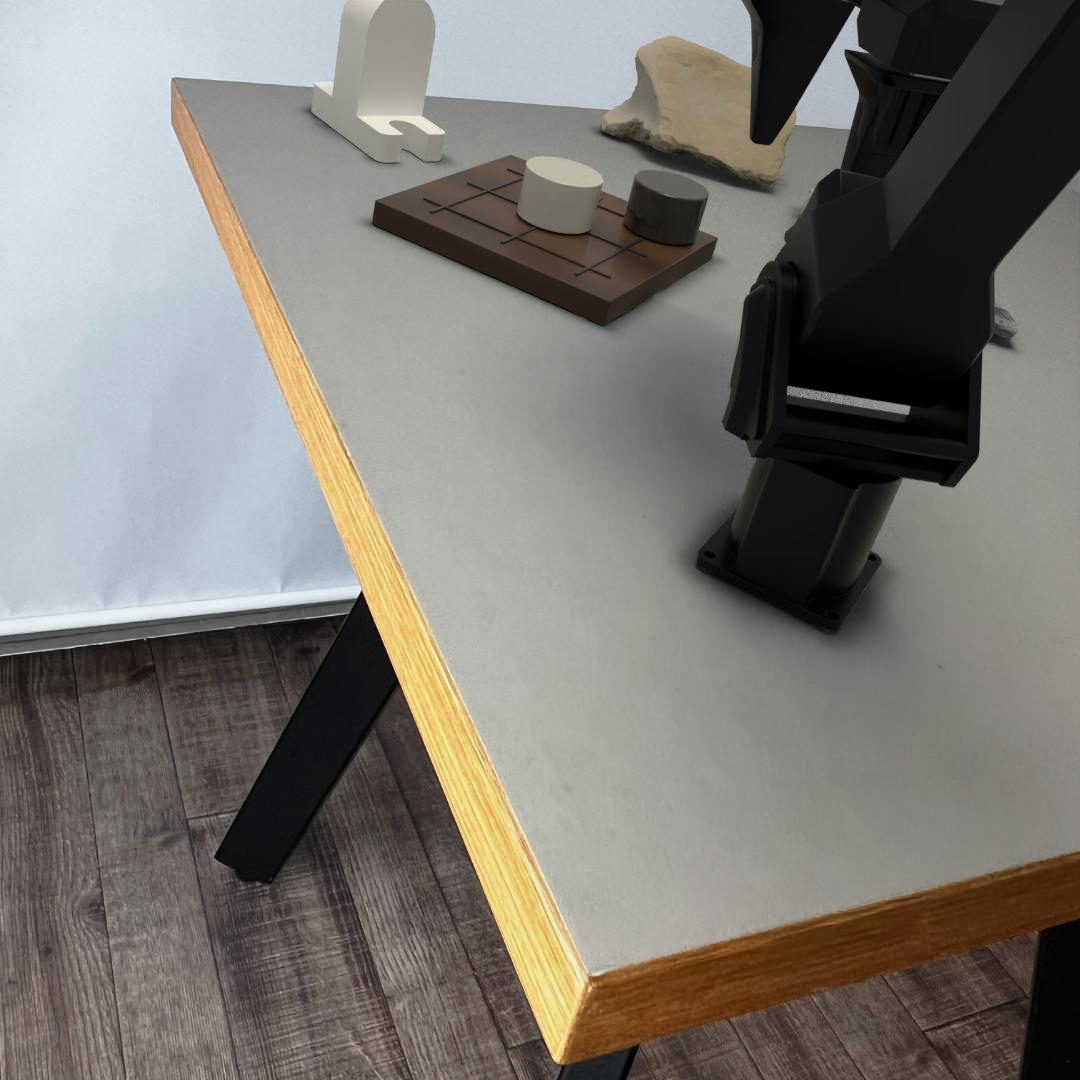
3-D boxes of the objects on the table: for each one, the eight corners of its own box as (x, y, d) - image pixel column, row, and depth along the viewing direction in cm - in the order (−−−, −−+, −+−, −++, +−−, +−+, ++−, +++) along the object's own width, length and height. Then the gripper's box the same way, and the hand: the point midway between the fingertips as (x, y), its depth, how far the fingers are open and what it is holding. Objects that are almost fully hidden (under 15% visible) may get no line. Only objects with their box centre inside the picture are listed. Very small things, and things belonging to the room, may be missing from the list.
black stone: (677, 251, 77) (691, 205, 75) (610, 224, 78) (622, 178, 76) (707, 234, 80) (720, 190, 79) (642, 208, 82) (654, 164, 80)
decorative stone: (604, 121, 102) (629, 18, 98) (774, 166, 102) (807, 65, 98) (592, 147, 96) (618, 38, 91) (773, 197, 95) (809, 89, 91)
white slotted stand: (371, 109, 92) (391, -34, 86) (444, 161, 86) (470, 10, 80) (308, 109, 89) (324, -40, 83) (378, 162, 83) (400, 6, 77)
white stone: (569, 240, 74) (581, 192, 72) (502, 212, 76) (511, 164, 74) (605, 223, 78) (616, 177, 76) (540, 196, 79) (550, 150, 78)
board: (603, 326, 69) (610, 299, 68) (371, 224, 74) (375, 198, 73) (711, 258, 81) (719, 235, 80) (506, 175, 86) (511, 152, 85)
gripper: (664, -273, 54) (580, 90, 62) (860, -216, 39) (717, 245, 48) (883, -216, 57) (776, 119, 66) (1135, -145, 43) (956, 270, 52)
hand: (798, 178), depth 58 cm, fingers open, 9 cm apart
